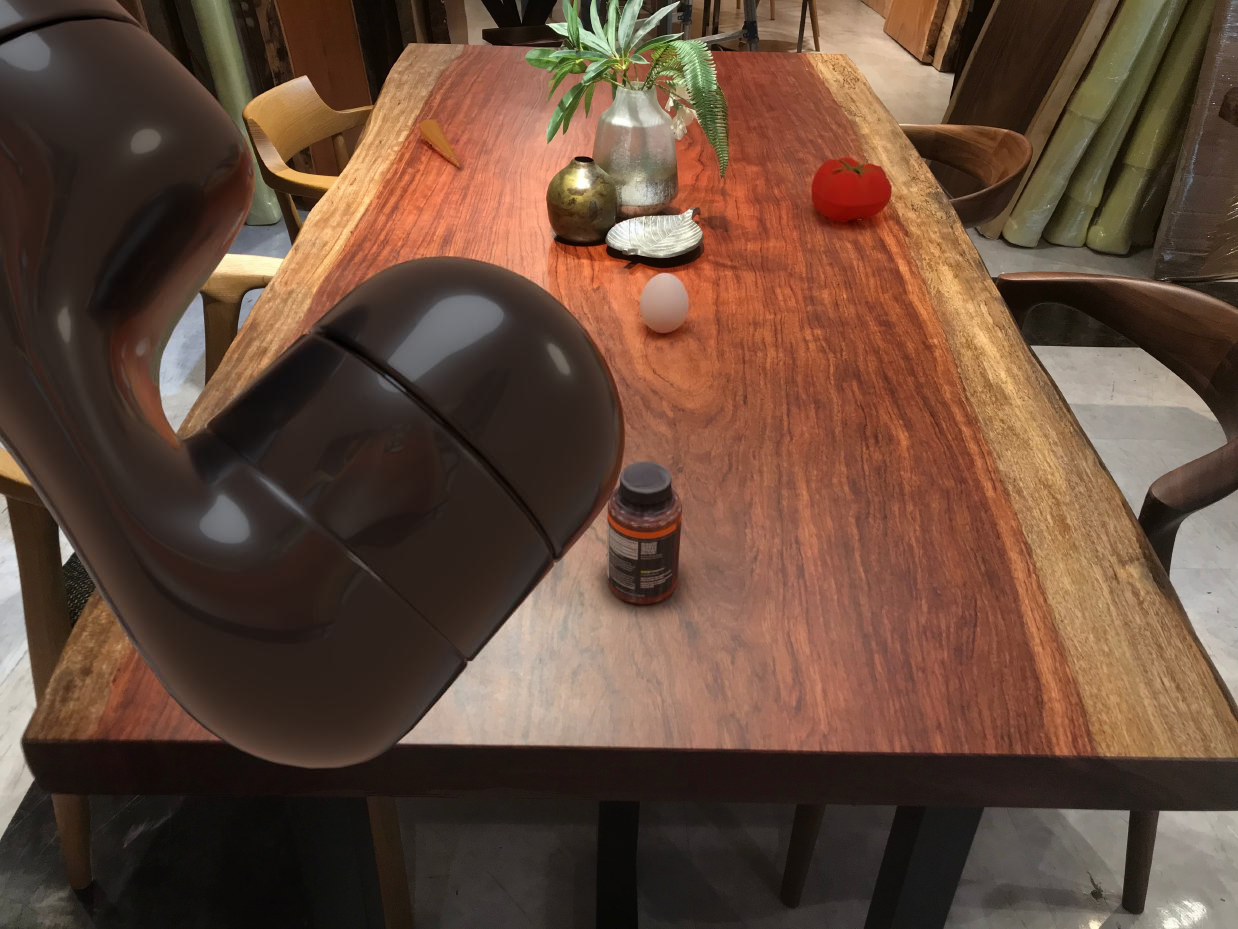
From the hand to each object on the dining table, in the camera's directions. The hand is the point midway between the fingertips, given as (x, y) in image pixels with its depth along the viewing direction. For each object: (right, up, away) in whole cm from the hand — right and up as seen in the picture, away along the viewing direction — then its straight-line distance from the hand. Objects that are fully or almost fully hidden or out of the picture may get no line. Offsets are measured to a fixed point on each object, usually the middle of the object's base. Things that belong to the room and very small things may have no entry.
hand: (386, 579), depth 50 cm
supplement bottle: (+15, -4, +26) cm, 30 cm away
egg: (+18, +23, +63) cm, 69 cm away
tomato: (+50, +46, +96) cm, 118 cm away
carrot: (-20, +64, +118) cm, 135 cm away
